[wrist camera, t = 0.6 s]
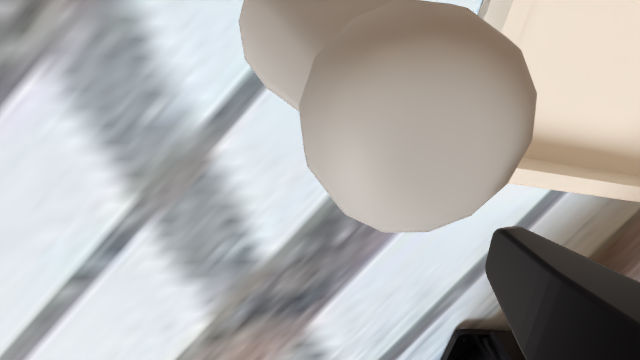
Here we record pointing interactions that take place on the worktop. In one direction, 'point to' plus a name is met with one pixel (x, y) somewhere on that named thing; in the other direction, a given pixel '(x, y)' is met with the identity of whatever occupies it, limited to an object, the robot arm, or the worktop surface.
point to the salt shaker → (397, 103)
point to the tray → (579, 92)
